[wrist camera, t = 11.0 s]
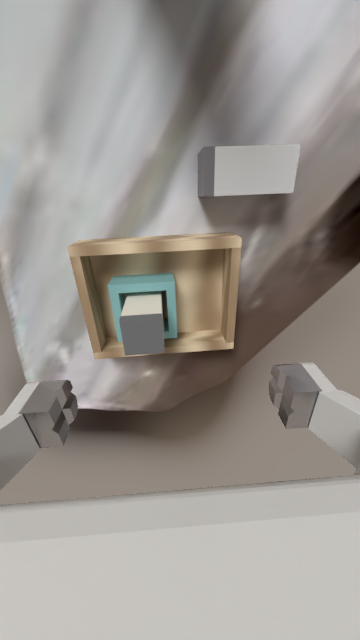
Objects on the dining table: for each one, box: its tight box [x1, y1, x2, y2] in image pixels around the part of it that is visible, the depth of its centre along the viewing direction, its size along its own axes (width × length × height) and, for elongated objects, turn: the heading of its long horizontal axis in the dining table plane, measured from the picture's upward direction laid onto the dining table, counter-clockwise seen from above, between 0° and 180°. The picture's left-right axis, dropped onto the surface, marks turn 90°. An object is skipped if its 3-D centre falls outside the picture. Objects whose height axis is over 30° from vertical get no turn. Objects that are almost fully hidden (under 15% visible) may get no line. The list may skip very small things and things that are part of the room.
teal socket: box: [108, 273, 177, 342], centre depth 30 cm, size 7×7×4 cm
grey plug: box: [198, 144, 301, 197], centre depth 25 cm, size 9×4×4 cm, turn 92°
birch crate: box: [67, 232, 242, 359], centre depth 30 cm, size 18×14×4 cm
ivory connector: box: [119, 291, 165, 356], centre depth 27 cm, size 4×4×9 cm
